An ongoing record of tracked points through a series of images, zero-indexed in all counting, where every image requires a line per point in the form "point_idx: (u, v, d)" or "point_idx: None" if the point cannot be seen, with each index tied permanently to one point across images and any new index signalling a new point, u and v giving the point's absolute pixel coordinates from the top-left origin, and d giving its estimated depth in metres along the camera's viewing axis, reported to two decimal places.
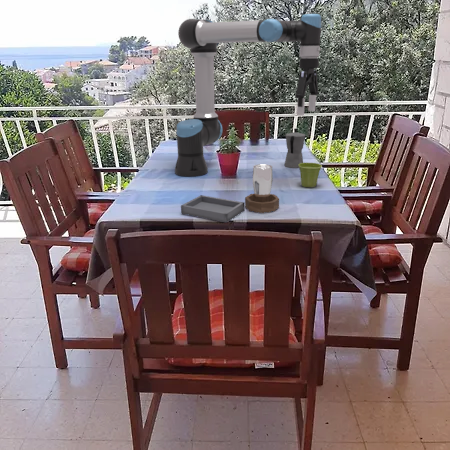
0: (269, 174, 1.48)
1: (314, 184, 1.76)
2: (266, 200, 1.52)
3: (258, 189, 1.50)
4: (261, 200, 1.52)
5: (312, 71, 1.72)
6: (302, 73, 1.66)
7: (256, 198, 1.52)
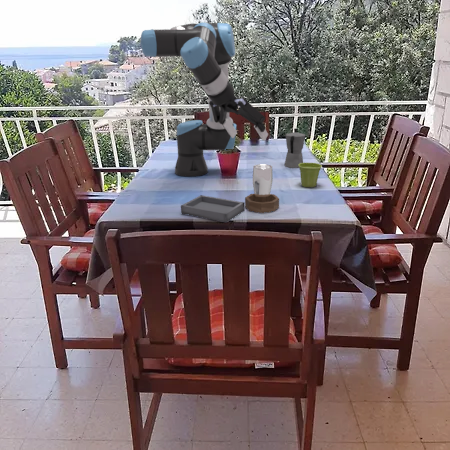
0: (269, 174, 1.48)
1: (314, 184, 1.76)
2: (266, 200, 1.52)
3: (258, 189, 1.50)
4: (261, 200, 1.52)
5: (228, 103, 1.31)
6: None
7: (256, 198, 1.52)
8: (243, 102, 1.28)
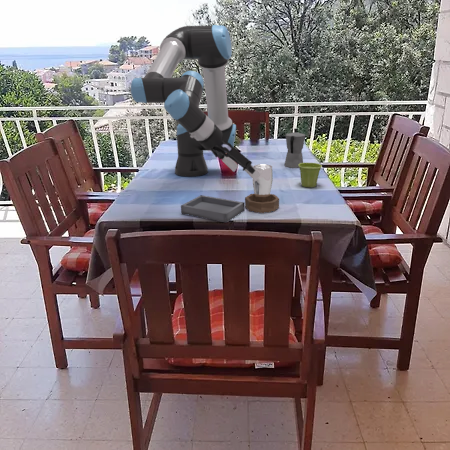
0: (269, 174, 1.48)
1: (314, 184, 1.76)
2: (266, 200, 1.52)
3: (258, 189, 1.50)
4: (261, 200, 1.52)
5: (216, 146, 1.35)
6: None
7: (256, 198, 1.52)
8: (228, 148, 1.31)
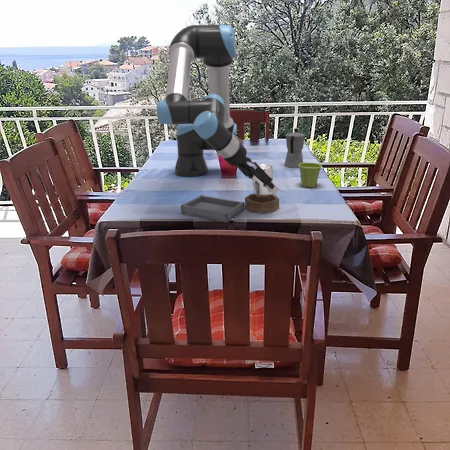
0: (269, 174, 1.48)
1: (314, 184, 1.76)
2: (266, 200, 1.52)
3: (258, 189, 1.50)
4: (261, 200, 1.52)
5: (240, 162, 1.42)
6: None
7: (256, 198, 1.52)
8: (255, 167, 1.40)
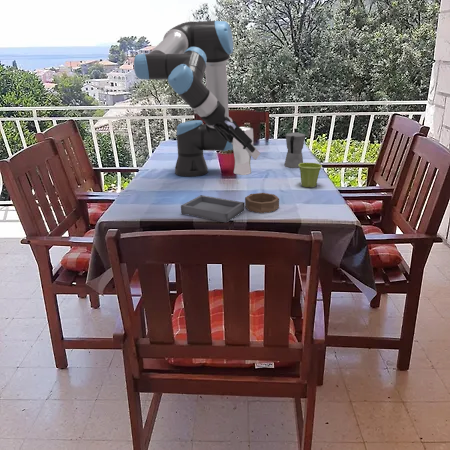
0: (250, 136, 1.41)
1: (314, 184, 1.76)
2: (246, 164, 1.45)
3: (238, 152, 1.43)
4: (241, 165, 1.45)
5: (219, 122, 1.35)
6: None
7: (236, 162, 1.45)
8: (233, 127, 1.33)
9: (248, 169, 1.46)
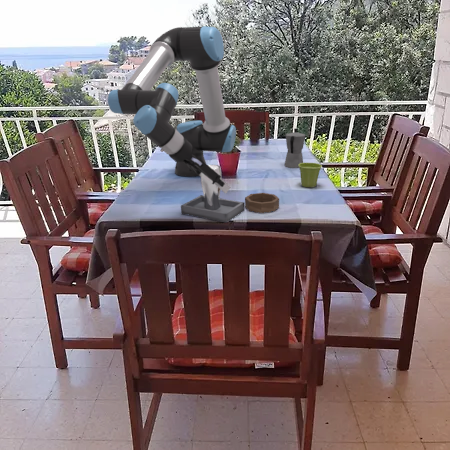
0: None
1: (314, 184, 1.76)
2: (215, 201, 1.48)
3: (206, 190, 1.46)
4: (210, 202, 1.48)
5: (186, 159, 1.37)
6: None
7: (205, 200, 1.48)
8: (199, 163, 1.34)
9: (217, 206, 1.49)
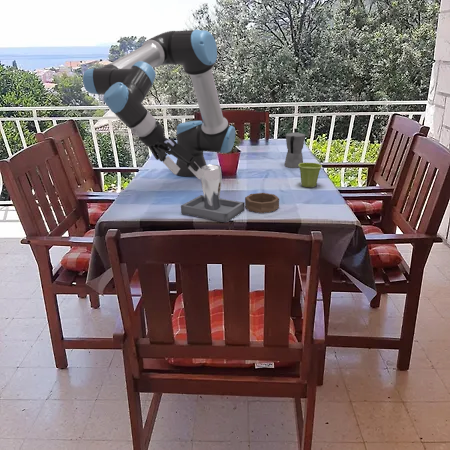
0: (217, 175, 1.44)
1: (314, 184, 1.76)
2: (216, 202, 1.48)
3: (206, 190, 1.46)
4: (210, 202, 1.48)
5: (158, 143, 1.31)
6: None
7: (205, 200, 1.48)
8: (171, 143, 1.28)
9: (217, 206, 1.49)
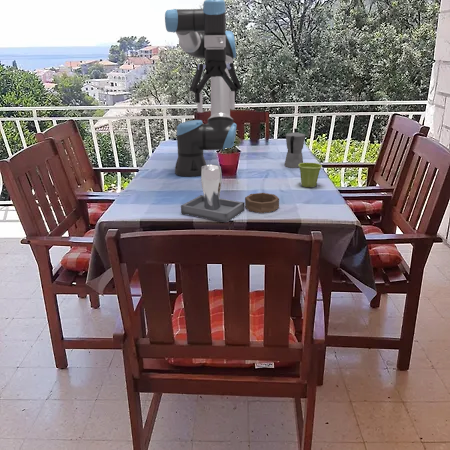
0: (217, 175, 1.44)
1: (314, 184, 1.76)
2: (216, 202, 1.48)
3: (206, 190, 1.46)
4: (210, 202, 1.48)
5: (220, 64, 1.54)
6: (198, 66, 1.51)
7: (205, 200, 1.48)
8: None
9: (217, 206, 1.49)
